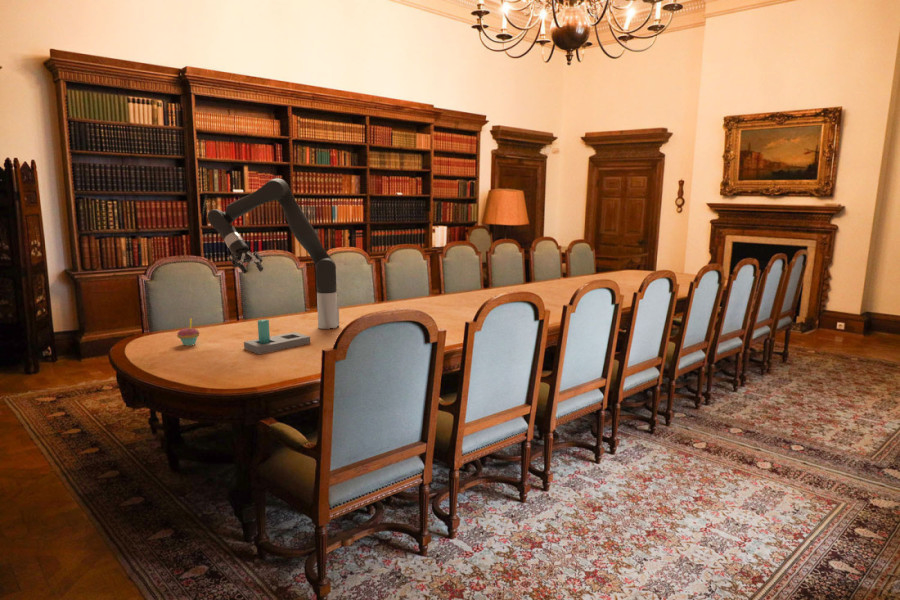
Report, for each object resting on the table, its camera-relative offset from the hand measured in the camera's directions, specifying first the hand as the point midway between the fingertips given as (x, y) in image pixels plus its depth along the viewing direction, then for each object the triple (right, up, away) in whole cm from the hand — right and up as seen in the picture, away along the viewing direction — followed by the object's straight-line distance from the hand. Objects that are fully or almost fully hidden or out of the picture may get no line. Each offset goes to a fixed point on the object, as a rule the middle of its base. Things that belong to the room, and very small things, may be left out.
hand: (254, 271), depth 259 cm
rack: (+16, -32, -16) cm, 40 cm away
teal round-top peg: (+11, -33, -21) cm, 41 cm away
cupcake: (-23, -32, -15) cm, 42 cm away
